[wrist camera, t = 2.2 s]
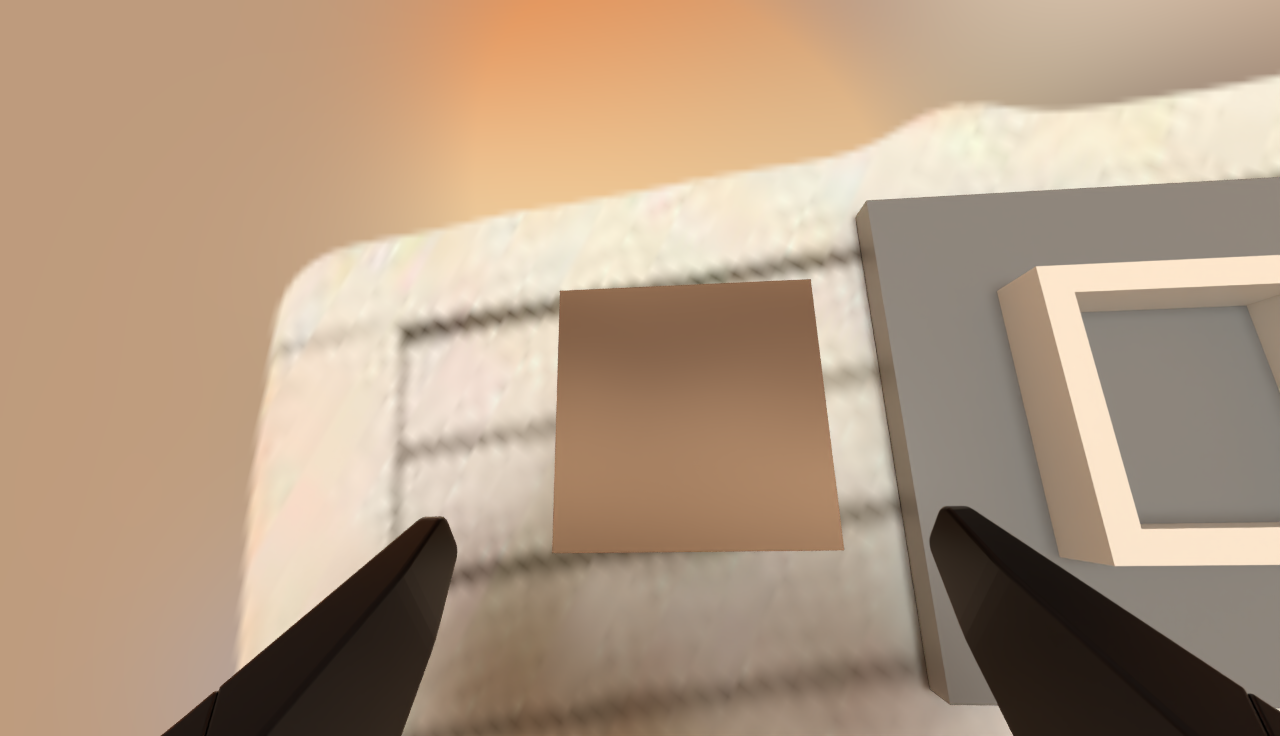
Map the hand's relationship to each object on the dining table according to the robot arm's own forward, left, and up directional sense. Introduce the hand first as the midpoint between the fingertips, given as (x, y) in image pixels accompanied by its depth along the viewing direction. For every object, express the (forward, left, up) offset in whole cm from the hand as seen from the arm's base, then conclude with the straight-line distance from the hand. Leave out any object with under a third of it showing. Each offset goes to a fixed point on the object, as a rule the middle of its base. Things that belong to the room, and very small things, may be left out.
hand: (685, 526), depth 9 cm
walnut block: (+2, 0, -9) cm, 10 cm away
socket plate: (+3, -17, -9) cm, 20 cm away
